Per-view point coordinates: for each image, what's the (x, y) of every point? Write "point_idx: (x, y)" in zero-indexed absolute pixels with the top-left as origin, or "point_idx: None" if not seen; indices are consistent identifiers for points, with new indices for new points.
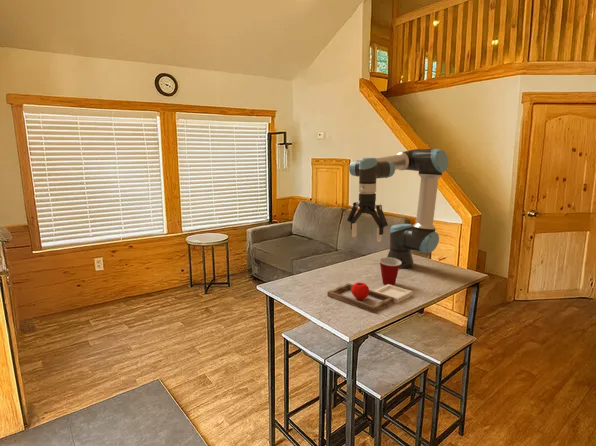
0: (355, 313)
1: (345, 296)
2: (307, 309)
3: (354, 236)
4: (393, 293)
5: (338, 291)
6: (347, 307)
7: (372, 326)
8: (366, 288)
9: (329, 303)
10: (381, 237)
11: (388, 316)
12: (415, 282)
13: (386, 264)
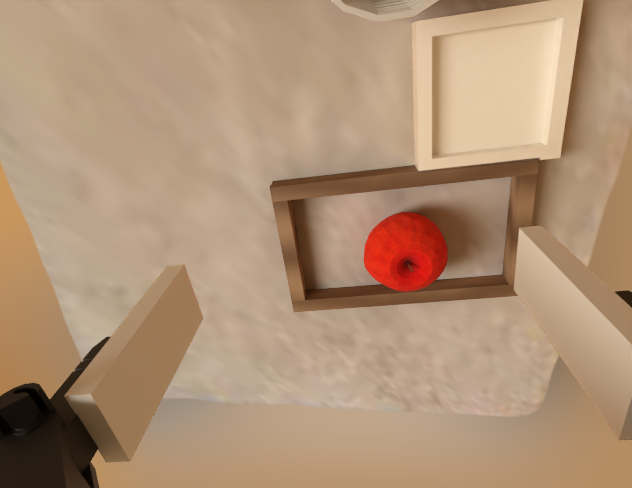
0: (468, 328)
1: (374, 296)
2: (341, 399)
3: (194, 301)
4: (490, 86)
5: (300, 261)
6: (417, 316)
7: None
8: (444, 260)
9: (352, 335)
10: (564, 252)
11: None
12: None
13: (417, 12)
